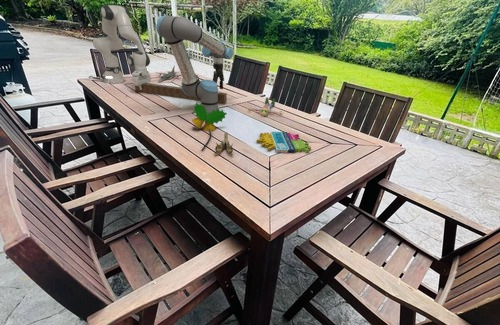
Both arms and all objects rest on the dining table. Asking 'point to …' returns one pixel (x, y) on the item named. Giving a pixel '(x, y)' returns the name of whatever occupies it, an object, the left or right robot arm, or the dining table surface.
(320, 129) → the dining table surface
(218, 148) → the jawbone
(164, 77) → the airplane
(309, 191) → the dining table surface
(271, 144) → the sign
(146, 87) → the bar
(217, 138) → the dining table surface
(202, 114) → the ornament
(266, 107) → the toy
